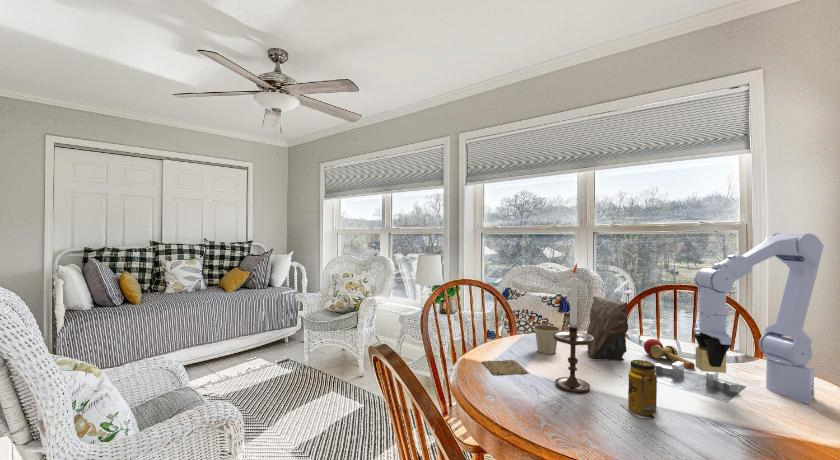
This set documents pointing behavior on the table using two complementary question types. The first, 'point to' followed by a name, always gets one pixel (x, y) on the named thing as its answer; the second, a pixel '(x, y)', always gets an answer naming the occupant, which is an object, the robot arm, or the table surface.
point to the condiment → (642, 389)
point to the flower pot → (546, 338)
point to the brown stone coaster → (504, 367)
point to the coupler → (707, 361)
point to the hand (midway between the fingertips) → (711, 363)
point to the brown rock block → (608, 329)
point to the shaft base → (697, 382)
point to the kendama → (665, 352)
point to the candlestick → (573, 344)
